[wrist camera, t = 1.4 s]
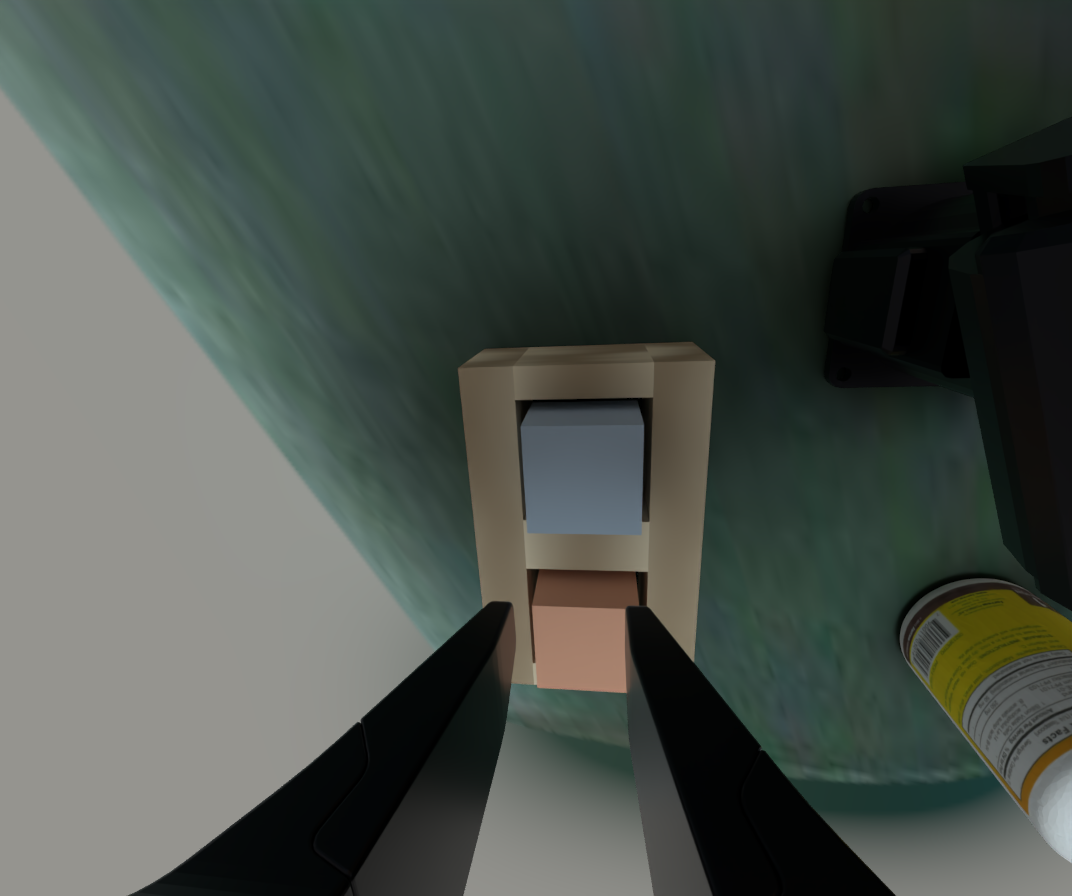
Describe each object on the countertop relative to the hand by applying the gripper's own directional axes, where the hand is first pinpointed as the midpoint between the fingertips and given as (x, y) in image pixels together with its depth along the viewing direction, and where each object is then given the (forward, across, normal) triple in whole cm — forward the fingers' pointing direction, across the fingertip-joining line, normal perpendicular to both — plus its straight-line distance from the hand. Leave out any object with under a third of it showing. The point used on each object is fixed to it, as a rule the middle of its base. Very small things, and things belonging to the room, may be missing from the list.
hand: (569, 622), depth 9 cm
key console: (+12, 0, +3) cm, 12 cm away
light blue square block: (+9, 0, 0) cm, 9 cm away
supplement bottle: (+12, -16, +9) cm, 22 cm away
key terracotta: (+9, 0, +6) cm, 11 cm away
